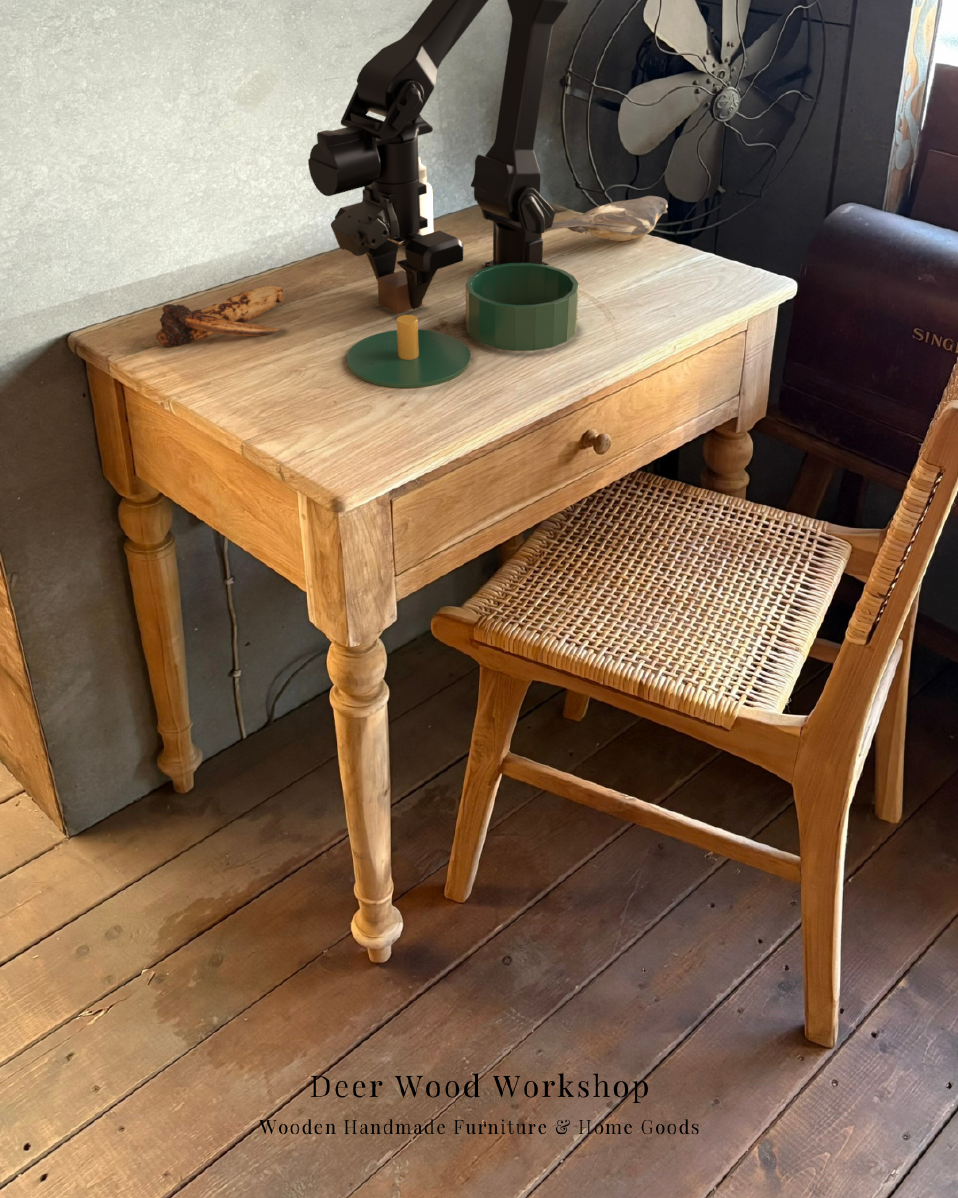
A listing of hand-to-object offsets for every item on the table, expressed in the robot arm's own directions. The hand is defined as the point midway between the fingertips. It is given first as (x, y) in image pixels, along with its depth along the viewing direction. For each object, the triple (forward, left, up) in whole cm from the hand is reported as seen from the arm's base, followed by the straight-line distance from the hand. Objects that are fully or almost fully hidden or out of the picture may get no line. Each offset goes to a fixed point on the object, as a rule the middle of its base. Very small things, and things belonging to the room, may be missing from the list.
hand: (400, 300), depth 151 cm
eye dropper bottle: (-16, +16, -1) cm, 23 cm away
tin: (+15, +7, -1) cm, 17 cm away
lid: (+13, -9, 0) cm, 16 cm away
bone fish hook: (-8, -20, -1) cm, 22 cm away
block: (0, 0, -1) cm, 1 cm away
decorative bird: (+2, +35, -1) cm, 35 cm away
